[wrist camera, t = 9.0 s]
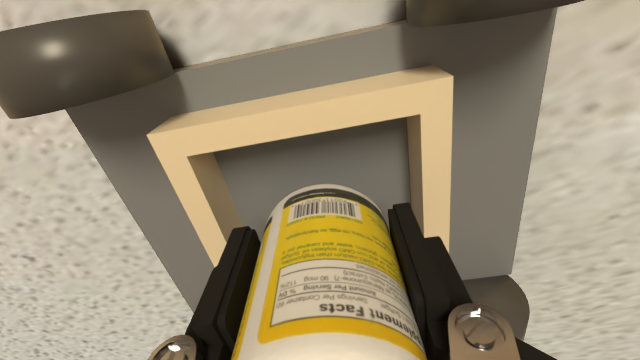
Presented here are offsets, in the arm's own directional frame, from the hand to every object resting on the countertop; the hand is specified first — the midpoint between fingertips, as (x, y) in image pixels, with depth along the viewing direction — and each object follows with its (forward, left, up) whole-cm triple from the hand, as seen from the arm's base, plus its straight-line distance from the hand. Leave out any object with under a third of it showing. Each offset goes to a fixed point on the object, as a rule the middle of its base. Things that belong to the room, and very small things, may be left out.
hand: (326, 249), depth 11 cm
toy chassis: (0, 0, -5) cm, 5 cm away
